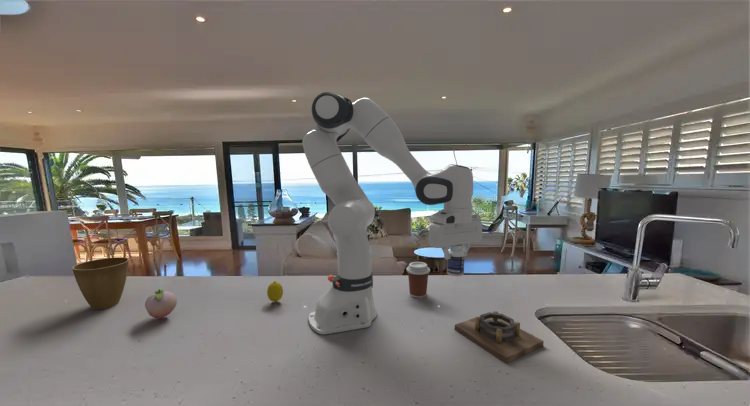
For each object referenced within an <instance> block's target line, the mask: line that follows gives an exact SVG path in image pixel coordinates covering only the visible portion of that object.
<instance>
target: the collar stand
mask: <svg viewBox="0 0 750 406" xmlns="http://www.w3.org/2000/svg"><path fill="white" fill-rule="evenodd" d="M454 330H455V331H457V332H458V333H459V334H461V335H462V336H463V337H465V338H467V339H469V340H470V341H472V342H473V343H475V344H476V345H477V346H479V347H481V349H484V351H486V352H488V353H489V354H491V355H493V356H494V357H495V358H497V359H498V360H500V361H502V362H503V363H505V364H507V363H510V362H512V361H514V360H516V359H519V358H521V357H523V356H525V355H527V354H530V353H532V352H533V351H536V350H538V349H540V348H542V347H544V340H543V339H540V338H539V337H538V336H535V335H533V334H531V333H529V332H527V331H526V330H523V329H521V322H519V321H515V320H514V319H513V318H511V317H510V316H507V315H505V314H504V313H500V312H498V311H497V310H493V311H489V312H485V313H482V314H480V315H479V316H475V317H473V318H471V319H467V320H465V321H462V322H459V323H455V324H454Z"/></svg>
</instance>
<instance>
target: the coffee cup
mask: <svg viewBox="0 0 750 406" xmlns="http://www.w3.org/2000/svg"><path fill="white" fill-rule="evenodd" d="M428 266H429V265H428V264H427V262H423V261H413V262H410V263H409V264H408V266H407V267H406V268H405V269H406V270H405V271H406V272H407V275H408V276H407V277H408V287H409V296H411V297H412V298H417V299H422V298H425V297H427V292H428V280H429V273H430V272H431V269H430V267H428Z"/></svg>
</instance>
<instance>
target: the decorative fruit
mask: <svg viewBox="0 0 750 406" xmlns="http://www.w3.org/2000/svg"><path fill="white" fill-rule="evenodd" d="M177 304H178V301H177V297H176V296H175V294H174V293H173V292H171V291H166V290H162V289H158V290H156V291H154V293H152V294H150V295H149V296H148V297H147V298H146V300H145V302H144V307H145V310H146V312H147V313H148V315H149V316H150V317H152V318H153V319H159V320H162V319H164V318H166V317H167V316H169V315H170V314H172V312H173V311H174V310H175V309H176V306H177Z"/></svg>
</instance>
